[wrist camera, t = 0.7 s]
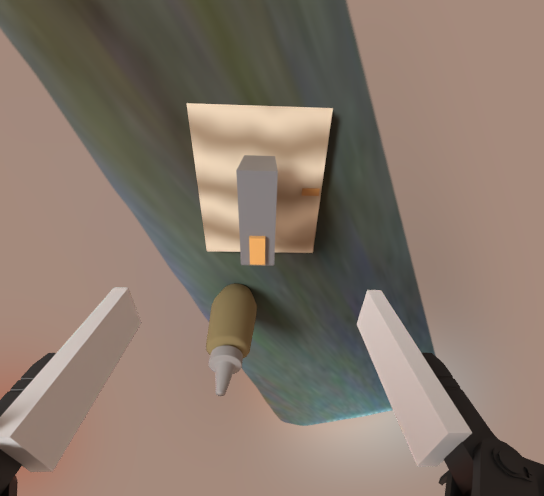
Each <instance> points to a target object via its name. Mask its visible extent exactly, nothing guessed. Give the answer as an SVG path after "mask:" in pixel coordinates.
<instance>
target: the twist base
mask: <svg viewBox="0 0 544 496" xmlns="http://www.w3.org/2000/svg"><path fill="white" fill-rule="evenodd" d="M187 110H188V117H189V124H190V132H191V139H192V146H193V154H194V161H195V168H196V175H197V183H198V190H199V197H200V204H201V212H202V219H203V226H204V233H205V241H206V248H207V251H227V252H240V233H239V213H238V193H237V173H236V170H237V168H238V166H239V164H240V162H241V160H242V159H243V157H244V155H256V156H275V158H276V164H277V170H278V179H277V204H276V229H275V252H296V253H313V246H314V239H315V232H316V225H317V218H318V211H319V204H320V197H321V189H322V182H323V175H324V168H325V161H326V154H327V147H328V139H329V132H330V125H331V118H332V111H333V108H309V107H280V106H250V105H220V104H190V103H187Z"/></svg>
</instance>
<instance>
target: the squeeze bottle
mask: <svg viewBox="0 0 544 496" xmlns="http://www.w3.org/2000/svg"><path fill="white" fill-rule="evenodd" d="M256 313H257V305H256V303H255V300H254V298H253V295H252V293H251V291H250V289H249V288H247V287H246V286H244V285H241V284H230V285H227V286H226V287H225V288H224V289H223V290H222V291H221V292H220V293H219V294H218V296H217V297H216V298H215V299H214V301H213V304H212V308H211V314H210V321H209V329H208V335H207V343H206V349H207V352H208V353H209V354H210V358H209V367H210V369H211V370H212V371H214V372H215V373H216V395H218V396H223V395H225V393H226V390H227V388H228V385H229V382H230V379H231V376H232V374H235V373H236V372H238V371H239V370H240V369H241V368H242V360H243V358H245V357H246V356H247V355H248V353H249V351H250V346H251V340H252V335H253V330H254V324H255V319H256Z"/></svg>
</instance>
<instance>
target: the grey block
mask: <svg viewBox="0 0 544 496" xmlns="http://www.w3.org/2000/svg"><path fill="white" fill-rule="evenodd" d="M236 173H237V193H238V213H239V233H240V254H241V265H274V254H275V229H276V204H277V179H278V170H277V164H276V158H275V156H256V155H244V157H243V159H242V160H241V162H240V164H239V166H238V168H237V170H236Z"/></svg>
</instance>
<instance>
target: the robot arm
mask: <svg viewBox="0 0 544 496" xmlns="http://www.w3.org/2000/svg"><path fill="white" fill-rule="evenodd" d="M140 325H141V320H140V318H139V315H138V312H137V309H136V307H135V304H134V302H133V299H132V296H131V293H130V291H129V288H113V289H112V290H111V291H110V293H109V294H108V295H107V296H106V297H105V298H104V299H103V301H102V302H101V303H100V304H99V305H98V306H97V307H96V309H95V310H94V311H93V312H92V313H91V314H90V315H89V317H88V318H87V319H86V320H85V321H84V322H83V324H82V325H81V326H80V327H79V328H78V329H77V330H76V331H75V332H74V334H73V335H72V336H71V337H70V338H69V339H68V340H67V342H66V343H65V344H64V345H63V346H62V347H61V348H60V350H59V351H58V352H57V353H48V354H47V355H45V356H44V357H43V358H41V359H40V360H39V361H37V362H36V363H35V364H33V365H32V366H31V367H30V369H29V370H28V371H27V372H26V373H25V374H24V375H23V376H22V377H21V380H19V381H17V383H16V384H15V385H14V386H13V387H12V388H11V390H10V391H9V392H7V393H6V394H5V395H4V396H3V398H2V399H1V400H0V496H17V478H16V476H15V474H16V473H17V471H18V470H19V469H20V467H21V466H23V467H25V468H26V469H27V470H29V471H31V472H49V471H50V472H51V471H53V470H54V469H55V467H56V465H57V463H58V462H59V460H60V459H61V457H62V455H63V454H64V452H65V450H66V449H67V447H68V445H69V444H70V442H71V440H72V439H73V437H74V435H75V433H76V432H77V430H78V428H79V427H80V425H81V423H82V422H83V420H84V418H85V417H86V415H87V414H88V412H89V410H90V408H91V407H92V405H93V403H94V402H95V400H96V398H97V397H98V395H99V393H100V392H101V390H102V388H103V387H104V385H105V383H106V382H107V380H108V378H109V377H110V375H111V373H112V371H113V370H114V368H115V366H116V365H117V363H118V362H119V360H120V358H121V357H122V355H123V353H124V352H125V350H126V348H127V347H128V345H129V343H130V342H131V340H132V338H133V337H134V335H135V333H136V332H137V330H138V328H139V326H140ZM357 326H358V328H359V331H360V333H361V335H362V338H363V340H364V342H365V345H366V347H367V350H368V352H369V354H370V357H371V359H372V361H373V364H374V366H375V368H376V371H377V373H378V375H379V378H380V380H381V383H382V385H383V387H384V390H385V392H386V394H387V397H388V399H389V401H390V404H391V406H392V409H393V411H394V413H395V415H396V418H397V420H398V422H399V425H400V427H401V430H402V432H403V434H404V437H405V439H406V441H407V444H408V446H409V449H410V451H411V453H412V456H413V458H414V460H415V463H416V465H417V467H418V466H438V465H439V464H440V463H441V462H442V461H443V460H444V461H445V463H446V464H447V466H448V468H449V471H447V472H446V473H445V474H444V475H443V476H442V477H441V478H440V481H439V483H440V484H441V485H443V484H444V483H446V491H445V496H544V465H543V464H540V463H537V462H534V461H531V460H529V459H526V458H524V457H522V456H521V455H520V454H519V453H518V452H517V451H516V450H515V449H513V448H512V447H510V446H509V445H508V444H507V443H505V442H502V441H500V440H499V439H498V438H497V437H496V436H495V435H494V434H493V433H492V431H491V430H490V429H489V427H488V426H487V425H486V423H485V422H484V420H483V419H482V417H481V416H480V415H479V413H478V412H477V410H476V409H475V408H474V406H473V405H472V403H471V402H470V400H469V399H468V398H467V396H466V395H465V393H464V392H463V391H462V390H461V389H460V386H459V385H458V383H457V382H456V380H455V379H453V377H452V375H451V373H450V372H449V371H448V369H447V368H446V366H445V365H444V364H443V363H442V362H441V361H440V360H439V359H438V358H437V357H436V356H435V355H433V354H432V353H421V352H420V350H419V349H418V347H417V346H416V344H415V343H414V341H413V339H412V338H411V336H410V335H409V333H408V332H407V330H406V328H405V327H404V325H403V324H402V322H401V321H400V319H399V318H398V316H397V314H396V313H395V311H394V310H393V308H392V307H391V305H390V304H389V302H388V300H387V299H386V297H385V296H384V294H383V293H382V291H381V290H367V293H366V296H365V299H364V302H363V306H362V309H361V312H360V315H359V318H358V322H357Z"/></svg>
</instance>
